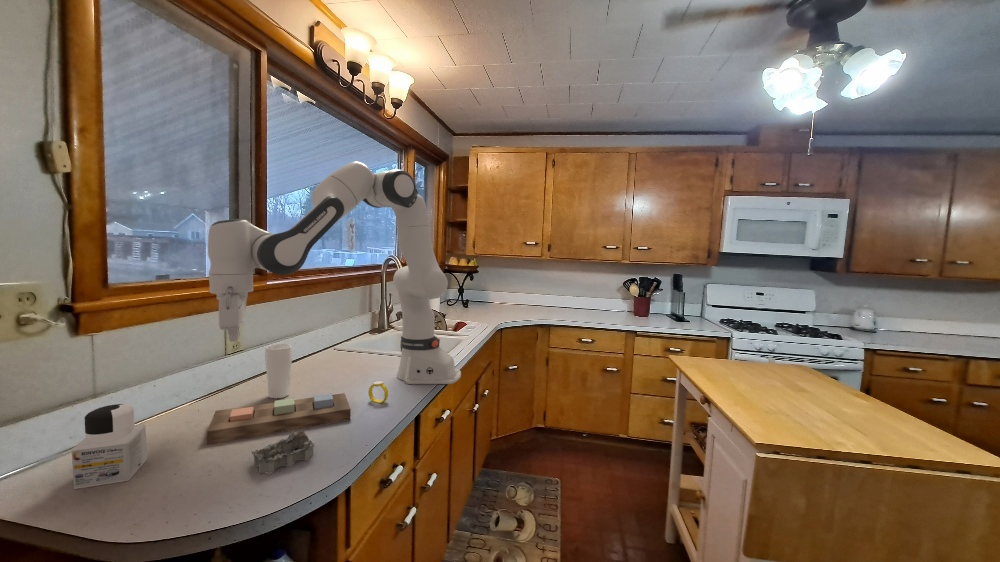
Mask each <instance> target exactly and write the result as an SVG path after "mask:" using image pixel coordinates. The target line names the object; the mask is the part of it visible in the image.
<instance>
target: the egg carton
mask: <svg viewBox="0 0 1000 562" xmlns="http://www.w3.org/2000/svg"><path fill="white" fill-rule="evenodd" d="M314 447H316V445H315V442H313V441H312V440H311V439H310V438H309V436H308V435H307V434H306V432H305V430H304V429H302V430H296V432H293V433H291V434H288V437H287V438H281V439H280V440H279V441H277V442H274V443H270V444H268V445H266V446H264V447H262V448H260V449H255V450H251V453H252V456H253V466H254V467H258V473H259V474H264V473H266V474H271V473H274V472H275V470H276V469H277V468H280V467H287V468H288V467H291V466H293V465H294V463H295V462H297V461H302V460H303V461H308V460H310V459H311V457H312V456H313V454H314ZM297 448H298V449H297ZM295 449H297V450H295Z"/></svg>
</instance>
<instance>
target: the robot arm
mask: <svg viewBox="0 0 1000 562" xmlns="http://www.w3.org/2000/svg"><path fill="white" fill-rule="evenodd" d="M311 201H312V204H313V207H311V209H310V211H309V212H307V214H305V215H304V216H303V217H302V218H300V220H298V222H296V224H294V225H293V226H292V227H291V228H290V229H288V230H286V231H283V232H282V231H281V232H278V233H271V232H269V231H268V230H264V229H261V228H259V227H257V226H255V225H254V224H253V223H251V222H250V221H248V220H247V219H244V218H235V219H225V220H224V219H223V220H218V221H216V222H213V224H211V225H210V227H209V230H208V237H207V255H208V258H209V261H210V262H209V263H210V268H209V271H208V278H209V280H208V281H209V293H210V294H214V295H216V300H218V326H219V329H220V330H223V331H224V330H227V333H228V341H229V342H237V341H238V340H239V338H240V324H241V323H242V320H243V318H244V317H245V314H246V308H247V302H248V301H247V299H248V297H249V295H248V294H249V293H252V292H254V272H253V271H254V270H255V269H261V270H264V271H268V272H270V273H272V274H275V275H280V276H287V275H291V274H295V273H296V272H297V271H299V270H300V269H301V268H302V267H303V265H304V264H305V262H306V260H307V258H308V256H309V253H310V252H311V250H312V248H313V246H314V245H316V243H317V242H318V241H319V240H320V239H321V238H322V237H323V236H324V235H326V233H327V232H328V231H329V230H330V229H331V228H332V227H333V226H334V225H335V224H336V223H337V222H338V221H340V220H341V219H342V218H343V217H345V216H346V215H347V214H349V213H350V212H351V211H352V210H354V209H355V208H356V207H357V206H358V205H359V204H361V202H364V203H365V204H366V205H368V206H370V207H372V208H377V209H381V208H391V209H392V211H393V213H394V216H395V224H396V232H397V242H398V248H399V249H398V250H399V252H400V253H401V255H402V256H403V258H404V259H405V262H406V265H405V266H402V267H400V268H398V269H397V270H396V271H395V272H394V275H393V279H392V283H393V285H394V288H395V289H396V291H397V293H398V294H397V295H398V298H399V303H400V309H401V315H402V327H401V328H402V334H401V337H400V346H399V347H400V352H401V353H400V360H399V365H398V370H397V373H396V377H397V378H398V379H399V380H401V381H403V382H404V383H405V384H407V385H453V384H454V383H457V382H458V381H459V380H460V379H461V377H462V371H461V370H460V369H458V368H456V365H455V360H454V358H453V356H451V354H449V353H448V352H446V351H445V350H444V349H443V348H442V347H440V344H441V343H440V342H441V338H440V337H439V338H438V337H437V336H436V335H435V313H434V310H433V309H432V306H431V304H430V301H429V300H436V299H439V298H441V297H442V296H444V295H445V293H446V292H447V290H448V285H449V284H448V283H449V282H448V278H447V275H446V274H445V273H444V272H443V270H442V269H441V268H440V265H439V263H438V261H437V258H436V254H435V251H434V249H433V244H432V235H431V225H430V218H429V212H428V209H427V205H426V202H425V199H424V198H423V196H422V195H420V194H419V193H418V188H417V185H416V182H415V180H414V178H413V176H412V175H411V174H410V173H409V172H407V171H406V170H403V169H398V168H397V169H396V168H395V169H394V168H393V169H391V170H384V171H380V172H378V173H373V171H372V170H371V169H370V168H369V167H368V166H367V165H366V164H365V163H362V162H361V161H351V162H349V163H346V164H344V165H342V166H341V167H339V168H338V169H336V170H335V171H332V173H330V174H328V175H327V177H325V178H324V179H323V180H322V181H321V182H320V183H319V184H318V185H317V186H316V187H315V188H314V190H313V191H312V192H311Z"/></svg>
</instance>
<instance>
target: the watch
mask: <svg viewBox="0 0 1000 562" xmlns="http://www.w3.org/2000/svg"><path fill="white" fill-rule="evenodd" d="M374 387H380V388H382V390H383V392H384V397H383V400H381V399H377V398H376V397H374V394H373V388H374ZM367 394H368V397H369V400H371V402H372V403H376V404H377V403H378V404H383V403H384V402H386V401H387V400H388V398H389V390H388V388H387V386H386V385H385V384H384V381H382V380H377V381H374V382H373V384H371V385H370V387H369V389H368V393H367Z"/></svg>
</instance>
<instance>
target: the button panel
mask: <svg viewBox="0 0 1000 562" xmlns="http://www.w3.org/2000/svg"><path fill="white" fill-rule="evenodd" d="M332 396H333V406H332V407H325V408H318V409H314V396H313V397H307V398H306V397H305V398H301V399H299V398H298V399H294V410H295V412H292V413H285V414H279V415H274V404H275V402H271V403H263V404H262V403H261V404H257V405H256V404H254V405H248V406H241V407H240V406H239V407H234V408H226V409H220V410H215V412H214V414H213V416H212V419H211V421H210V424H209V426H208V428H207V430H206V445H210V444H212V445H214V444H217V443H222V442H229V441H230V442H231V441H235V440H239V439H240V440H241V439H246V438H253V437H259V436H265V435H270V434H271V435H272V434H276V433H277V434H278V433H281V432H282V431H283V432H288V430H289V431H294V430H299V429H300V428H301V429H305V428H312V427H317V426H323V425H329V424H335V423H340V422H347V421H351V416H352V415H351V413H352V412H351V410H352V409H351V407H350V404H349V401H348V399H347V395H346V393H345V392H342V393H334V394H332ZM247 407H254V418H252V419H245V420H239V421H232V422H230V415H231V412H232V410H233V409H240V408H247Z"/></svg>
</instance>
